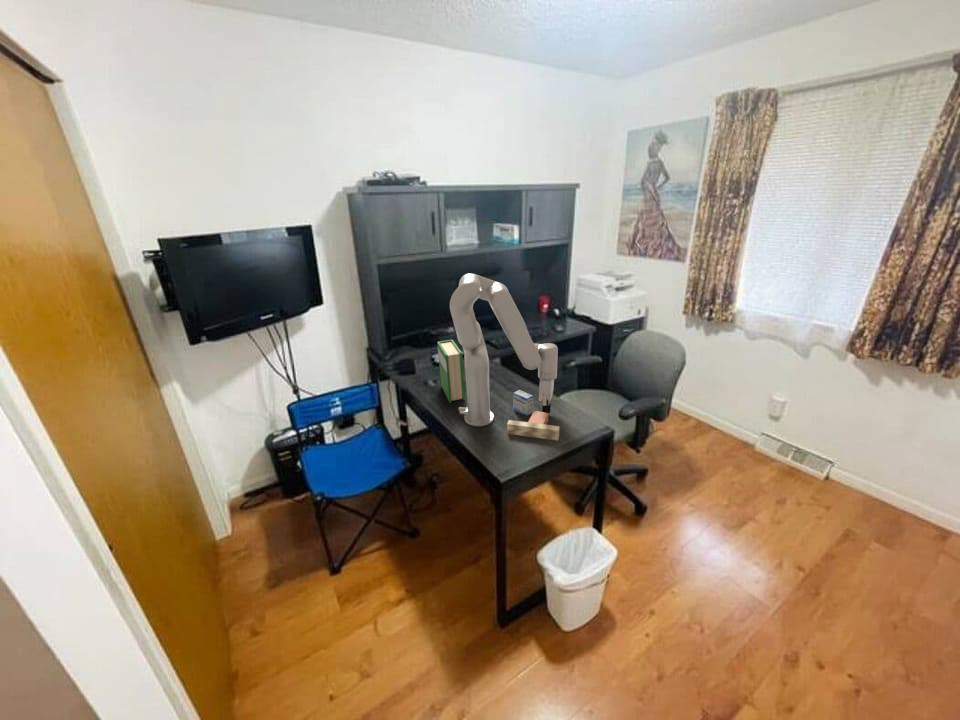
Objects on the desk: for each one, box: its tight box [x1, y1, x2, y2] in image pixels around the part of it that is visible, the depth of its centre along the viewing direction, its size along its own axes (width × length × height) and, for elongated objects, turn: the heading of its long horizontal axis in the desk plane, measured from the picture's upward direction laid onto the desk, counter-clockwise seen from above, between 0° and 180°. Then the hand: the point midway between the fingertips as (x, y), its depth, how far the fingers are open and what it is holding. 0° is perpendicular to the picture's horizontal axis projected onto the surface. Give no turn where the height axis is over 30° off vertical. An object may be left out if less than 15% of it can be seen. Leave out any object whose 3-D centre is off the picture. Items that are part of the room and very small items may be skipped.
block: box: [527, 410, 549, 425], centre depth 156 cm, size 6×10×4 cm, turn 157°
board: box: [506, 419, 561, 441], centre depth 150 cm, size 20×3×4 cm, turn 73°
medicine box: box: [512, 389, 534, 417], centre depth 165 cm, size 8×4×9 cm, turn 45°
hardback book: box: [436, 339, 466, 404], centre depth 180 cm, size 18×7×24 cm, turn 18°
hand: (546, 411), depth 163 cm, fingers closed
